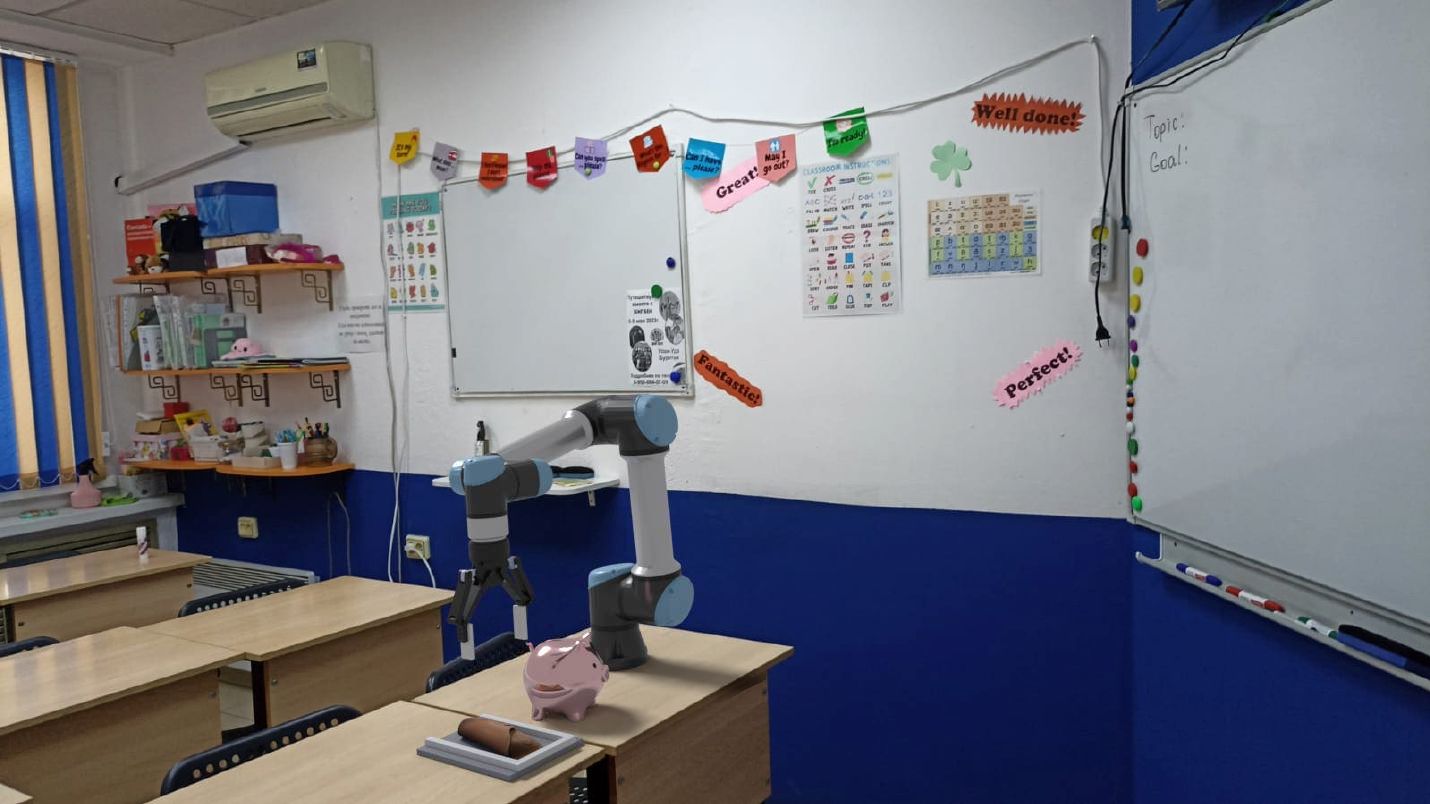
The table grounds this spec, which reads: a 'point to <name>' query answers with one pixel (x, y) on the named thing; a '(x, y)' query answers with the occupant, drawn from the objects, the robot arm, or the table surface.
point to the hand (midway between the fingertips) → (495, 648)
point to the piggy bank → (564, 677)
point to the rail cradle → (492, 762)
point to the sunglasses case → (498, 737)
